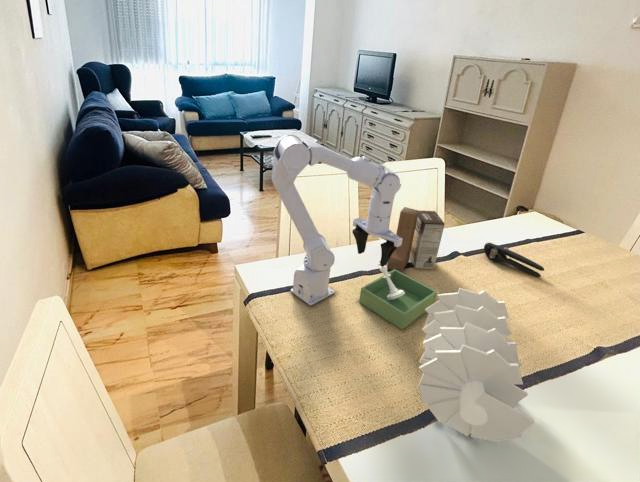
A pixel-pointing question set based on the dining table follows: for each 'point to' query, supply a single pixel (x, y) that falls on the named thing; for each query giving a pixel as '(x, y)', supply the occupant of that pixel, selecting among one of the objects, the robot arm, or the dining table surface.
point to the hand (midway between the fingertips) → (372, 258)
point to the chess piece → (391, 285)
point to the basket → (403, 306)
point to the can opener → (500, 254)
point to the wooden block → (404, 239)
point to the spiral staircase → (472, 367)
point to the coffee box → (426, 240)
